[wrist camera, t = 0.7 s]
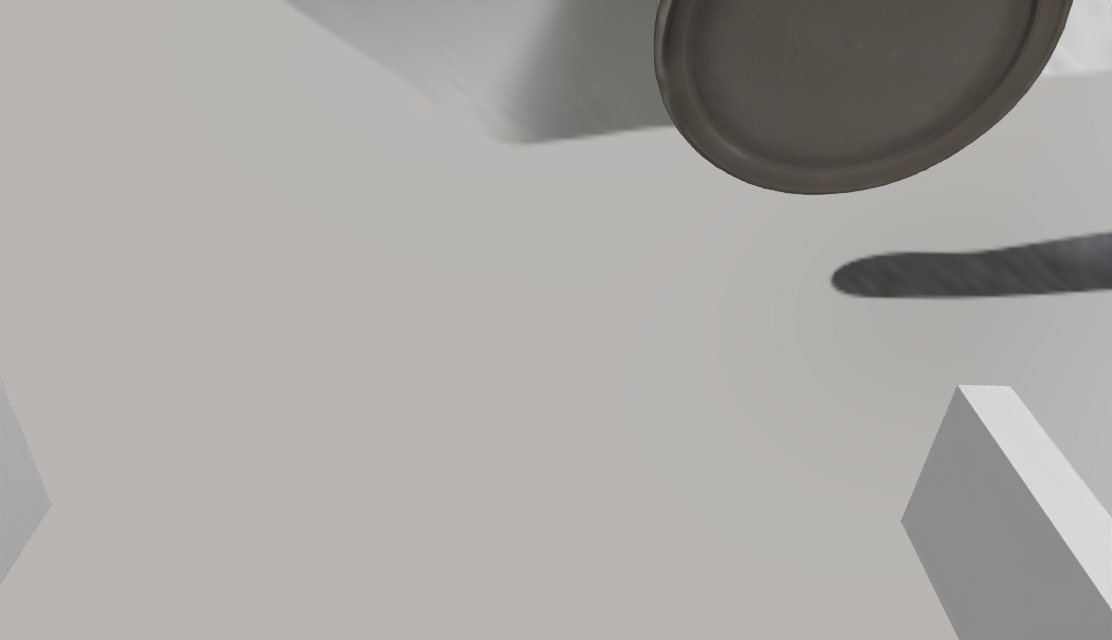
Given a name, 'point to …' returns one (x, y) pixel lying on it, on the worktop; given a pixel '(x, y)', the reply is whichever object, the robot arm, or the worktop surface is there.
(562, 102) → the worktop surface
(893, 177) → the coffee can
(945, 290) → the worktop surface
